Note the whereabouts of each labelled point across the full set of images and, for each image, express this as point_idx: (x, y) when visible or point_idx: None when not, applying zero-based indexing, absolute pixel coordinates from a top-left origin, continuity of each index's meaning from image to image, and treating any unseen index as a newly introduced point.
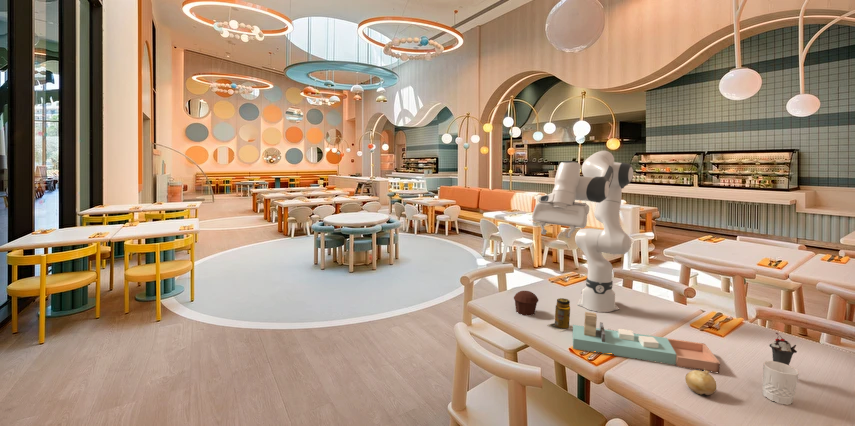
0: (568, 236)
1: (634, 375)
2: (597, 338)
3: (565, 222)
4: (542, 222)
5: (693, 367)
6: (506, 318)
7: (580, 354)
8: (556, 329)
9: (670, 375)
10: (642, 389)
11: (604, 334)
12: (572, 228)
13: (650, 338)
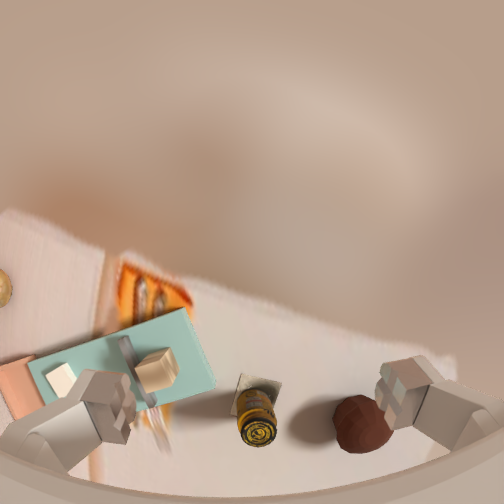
0: (88, 371)
1: (68, 273)
2: (141, 347)
3: (71, 494)
4: (495, 427)
5: (19, 359)
6: (372, 350)
7: (162, 290)
8: (254, 377)
9: (33, 313)
10: (53, 233)
11: (118, 340)
12: (18, 429)
13: (60, 389)
